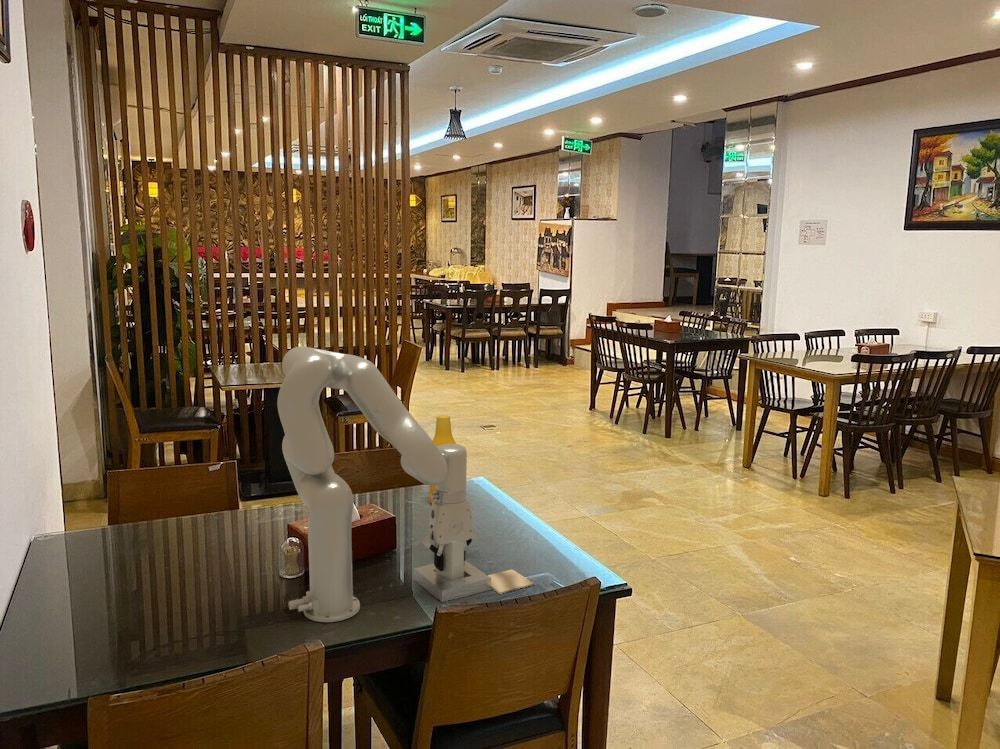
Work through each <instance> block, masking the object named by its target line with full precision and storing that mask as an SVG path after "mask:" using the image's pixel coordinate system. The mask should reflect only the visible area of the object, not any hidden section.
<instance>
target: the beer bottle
mask: <svg viewBox="0 0 1000 749" xmlns="http://www.w3.org/2000/svg"><path fill="white" fill-rule="evenodd" d="M435 421H436V422H435V431H434V436H433V438H432V441H433V442H434V443H435V445H436V446H440V445H444V444H457V443H456V441H455V439H454V436H453V431H452V424H451V416H449V415H446V414H445V415H444V414H442V415H437V416H436V420H435ZM434 492H435V485H431V486H430V485H429V503H430V502H431V503H433V501H435V499H431V497H430V495H431V494H433V493H434ZM431 503H430V504H431Z"/></svg>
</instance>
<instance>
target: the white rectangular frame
mask: <svg viewBox="0 0 1000 749" xmlns="http://www.w3.org/2000/svg"><path fill="white" fill-rule="evenodd" d="M488 575H489V574H488ZM488 575H487V573H485V572H483V571H482V570H480V569H479V568H477V567H476V566H475V565H473V564H471V563H470V562H469V561H467V560H466V559H465V561H464V578H461V579H457V580H453V581H449V582H448V581H446V580H445V579H444V578H442V577H441V576H440V575H438V574H437V573H436V567H435V566H434V563H431V564H426V565H422V566H417V567H413V580H414V581H415V582H416V583H417V584H418V585H420V586H421V587H422V586H423V587H424V588H423V587H422V588H423V589H424V590H426V591H427V592H428V593H430V594H431V595H432V596H433V595H434V596H433V597H434V598H436V599H437V600H438V599H439V600H440V602H441V603H444V602H443V601H446V602H449V601H448V600H450V601H453V599H454V600H457V599H461V598H464V597H468V596H472V595H476V594H480V593H483V592H487V591H491V590H492V589H491V577H489V576H488ZM439 600H438V601H439Z"/></svg>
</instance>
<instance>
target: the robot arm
mask: <svg viewBox="0 0 1000 749" xmlns="http://www.w3.org/2000/svg"><path fill="white" fill-rule="evenodd" d="M281 363H282V364H281V366H282V367H281V368H282V371H283V374H284V376H285V377H284V379H283V381H282V384H281V385H280V388H279V391H278V395H277V400H276V402H277V403H276V404H277V413H278V416H279V419H280V423H281V426H282V428H283V429H282V430H283V433H284V436H283V439H282V443H281V449H282V454H283V458H284V461H285V463H286V466H287V469H288V471H289V475H290V476H291V479H292V481H293V484H294V487H295V490H296V492H297V494H298V497H299V498H300V499H301V501H302V502H303V503H304V504H305V505H306V507H307V508H308V511H309V519H308V525H307V526H308V529H307V542H308V543H307V545H308V546H307V547H308V570H309V571H308V572H309V590H307V591H306V592H305V596H302V598H299V599H294V600H288V608H289V610H290V611H291V610H295V609H297V611H298V613H301V612H303V614H304V615H303V616H305V617H306V619H309V620H311V621H313V622H319V623H334V622H335V623H337V622H341V621H344V620H348V619H349V618H352V617H354V616H355V615H356V614H358V613H359V611H360V609H361V602H360V600H359V599H358V598H357V597H356V596H354V590H353V589H354V586H353V584H354V583H353V582H354V581H353V550H352V548H353V547H352V546H353V544H352V523H353V522H352V521H353V514H354V503H355V502H354V496H353V495H354V494H353V492H352V489H351V487H350V485H349V484H348V483H347V482H346V481H345V479H343V478H342V477H341V476H339V474H337V473H335V470H334V468H333V465H332V464H333V462H334V460H335V450H334V445H333V442H332V441H331V438H330V435H329V433H328V430H327V428H326V425H325V422H324V418H323V417H322V412H321V410H320V409H321V408H320V403H319V402H320V401H319V400H320V397H321V393H322V391H323V389H324V388H328V389H336V390H342V391H345V392H346V393H347V394H348V396H349V397H350V398H351V400H352V401H353V402H354V404H355V405H356V406H357V407H358V408H359V410H360V412H361V414H363V415H364V416H365V418H366V420H367V421H368V422H369V424H370V426H371V427H372V429H374V431H375V432H377V433H378V435H379V436H381V437H382V438H383V439H384V440H385V441H386V442H388V443H389V444H390V445H391V446H393V447H394V448H395V449H396V451H398V453H399V454H400V455H401V456H400V465H401V467H402V469H403V471H404V472H405V473H406V474H407V475H409V476H410V477H412V478H414V479H415V480H416V481H418V482H420V483H421V484H424V485H427V486H429V487H430V486H431V485H435V492H434V493H433V494H431V495H430V494H429V498H430V497H431V499H435V501H433V503H432V504H431V508H430V514H429V522H428V523H429V524H428V532H427V534H426V535H425V537H424V538H423V539H422V541H421V544H422V545H424V546H425V547H426V548H427V549H429V550H430V551H432V552H431V553H434V554H433V557H434V558H433V564H434V566H435V567H436V568H437V569H438V570H439V571H443V570H444V556H443V555H442V551H443V547H444V545H447V544H450V543H451V542H452V541H458V542H462V541H464V561H465V560H466V551H467V550H468V548H469V546H470V544H471V543H472V541H473V540H474V539H475V538H476V537H477V536H478V532H477V531H476V530H475V528H474V527H473V526H474V525H473V515H472V508H471V507H472V506H471V503H470V500H469V499H468V498H467V461H468V460H467V459H468V457H467V454H468V452H467V448H466V447H465V446H464V445H461V444H457V443H456V444H444V445H440V446H436V445H435V443H434V442H433V441H432V440H433V438H431V436H430V435H429V434H428V433H427V432H426V430H424V429H423V427H422V426H421V425H420V423H419V422H418V421H417V420H416V419H415V417H414V416H413V415H412V414H411V413H410V411H408V409H407V408H406V407H405V405H404V404H403V403H402V401H401V400H400V398H399V397H398V396H397V394H396V393H395V392H394V390H393V388H392V387H391V385H390V384H389V383H388V381H387V379H385V377H384V375H383V374H382V373H381V371H380V370H379V369H378V367H377V366H376V365H375V363H373V362H372V361H370V360H369V359H366V358H363V357H361V356H358V355H353V354H349V353H341V352H335V351H329V350H325V349H319V348H314V347H309V346H302V345H301V346H296V347H293V348H291V349H289V350H288V351H287V352H286V353H285V355H284V357H283V358H282V362H281ZM431 541H434V542H433V543H431Z"/></svg>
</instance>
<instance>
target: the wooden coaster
mask: <svg viewBox="0 0 1000 749" xmlns="http://www.w3.org/2000/svg"><path fill="white" fill-rule="evenodd" d="M488 576H489V577H491V590H492V589H493V590H492V591H494V592H495V591H496V592H497V594H498V595H499V594H501V595H504V594H503V593H505V594H507V593H506V592H508V593H510V592H509V591H512V590H516V589H520V588H523V587H524V588H523V589H526V588H525V587H527V588H529V587H528V586H531V587H534V586H535V583H534V582H533V581H531V580H530V579H528V577H527V578H526V577H525V576H523V575H522V574H520V573H519V572H518V571H516V570H514V569H507V570H503V571H499V572H496V573H492V574H488ZM533 585H534V586H533ZM520 590H521V589H520ZM516 591H517V590H516ZM496 592H495V593H496ZM512 592H513V591H512Z"/></svg>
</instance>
